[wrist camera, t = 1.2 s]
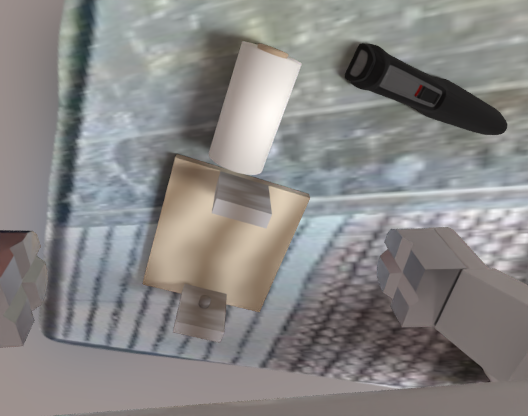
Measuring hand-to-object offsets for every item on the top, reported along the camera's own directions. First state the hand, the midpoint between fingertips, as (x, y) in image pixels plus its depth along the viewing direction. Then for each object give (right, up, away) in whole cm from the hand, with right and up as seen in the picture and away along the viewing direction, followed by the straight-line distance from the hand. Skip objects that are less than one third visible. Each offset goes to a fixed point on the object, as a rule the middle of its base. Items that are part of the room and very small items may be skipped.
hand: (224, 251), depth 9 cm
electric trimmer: (+16, +12, +28) cm, 34 cm away
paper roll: (0, +11, +28) cm, 30 cm away
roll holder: (-4, -2, +34) cm, 34 cm away
